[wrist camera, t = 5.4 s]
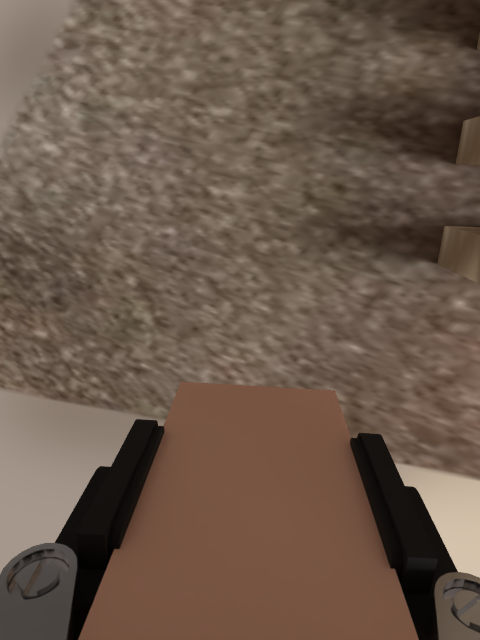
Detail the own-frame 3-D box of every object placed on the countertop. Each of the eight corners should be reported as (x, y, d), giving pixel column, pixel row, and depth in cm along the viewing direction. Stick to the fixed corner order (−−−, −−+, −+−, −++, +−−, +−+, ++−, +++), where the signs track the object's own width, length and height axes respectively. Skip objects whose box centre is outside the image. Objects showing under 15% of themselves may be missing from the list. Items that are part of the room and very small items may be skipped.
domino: (181, 382, 14) (10, 810, 5) (334, 390, 14) (491, 856, 4) (181, 444, 15) (36, 923, 5) (327, 453, 15) (446, 965, 5)
